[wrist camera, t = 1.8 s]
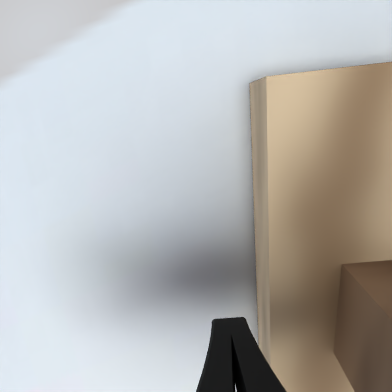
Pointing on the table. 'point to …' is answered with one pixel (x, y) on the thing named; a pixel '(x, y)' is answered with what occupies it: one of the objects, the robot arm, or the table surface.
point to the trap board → (317, 208)
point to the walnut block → (365, 325)
